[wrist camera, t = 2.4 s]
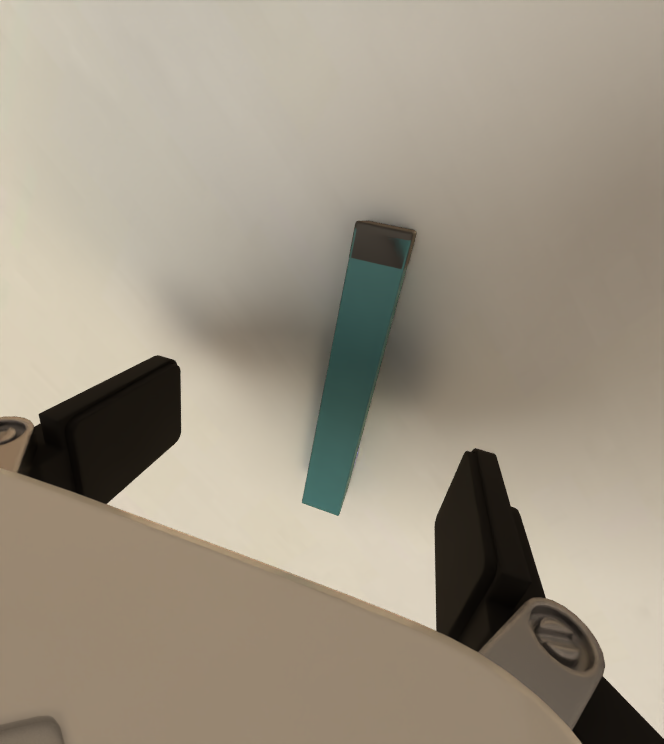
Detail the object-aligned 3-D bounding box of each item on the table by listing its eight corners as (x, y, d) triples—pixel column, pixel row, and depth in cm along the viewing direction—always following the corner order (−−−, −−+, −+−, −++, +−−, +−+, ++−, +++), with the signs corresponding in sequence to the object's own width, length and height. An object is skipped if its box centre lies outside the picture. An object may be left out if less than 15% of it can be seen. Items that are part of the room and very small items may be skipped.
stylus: (365, 220, 12) (355, 220, 11) (417, 230, 12) (414, 232, 11) (311, 487, 18) (299, 513, 16) (345, 499, 18) (336, 527, 16)
